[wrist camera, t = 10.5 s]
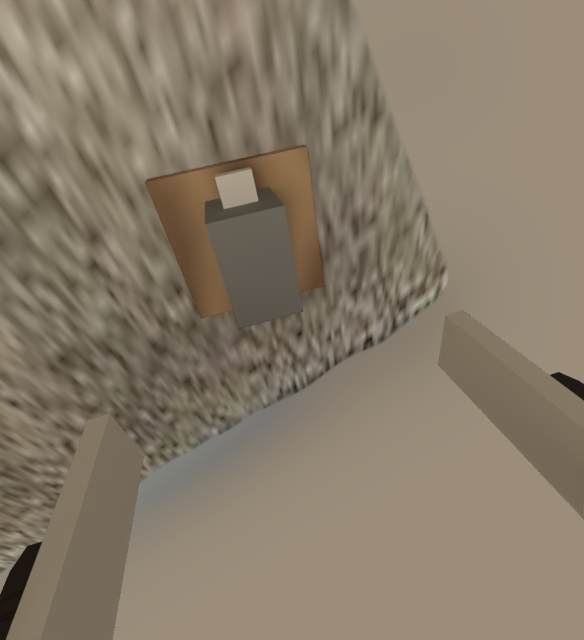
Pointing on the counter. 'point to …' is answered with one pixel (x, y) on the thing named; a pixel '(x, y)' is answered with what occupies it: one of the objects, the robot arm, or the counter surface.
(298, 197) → the walnut board
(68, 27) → the counter surface
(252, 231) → the plug
